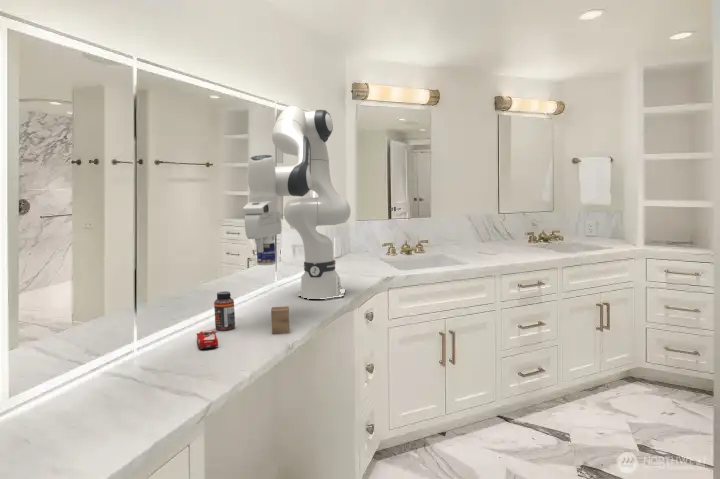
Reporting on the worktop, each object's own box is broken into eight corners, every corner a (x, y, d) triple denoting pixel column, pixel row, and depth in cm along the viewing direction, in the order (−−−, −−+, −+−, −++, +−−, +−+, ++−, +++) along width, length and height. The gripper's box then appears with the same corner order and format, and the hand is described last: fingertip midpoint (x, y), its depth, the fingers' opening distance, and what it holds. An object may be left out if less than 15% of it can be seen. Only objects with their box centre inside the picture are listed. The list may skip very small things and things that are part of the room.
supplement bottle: (211, 329, 165) (209, 292, 164) (228, 325, 170) (226, 289, 169) (222, 332, 161) (220, 295, 160) (239, 328, 166) (237, 291, 165)
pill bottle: (263, 266, 166) (261, 234, 165) (254, 264, 170) (252, 233, 169) (279, 264, 170) (277, 232, 169) (269, 262, 174) (267, 232, 173)
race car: (196, 340, 154) (195, 326, 154) (216, 338, 156) (215, 324, 156) (197, 352, 142) (196, 337, 142) (218, 349, 144) (218, 335, 143)
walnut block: (272, 330, 162) (271, 307, 161) (289, 329, 163) (288, 306, 162) (272, 334, 157) (271, 310, 157) (289, 333, 158) (288, 309, 157)
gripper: (267, 206, 179) (269, 247, 180) (240, 208, 159) (242, 254, 160) (285, 205, 178) (287, 247, 179) (259, 208, 158) (262, 254, 159)
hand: (265, 250), depth 169 cm, fingers closed on pill bottle, 6 cm apart
